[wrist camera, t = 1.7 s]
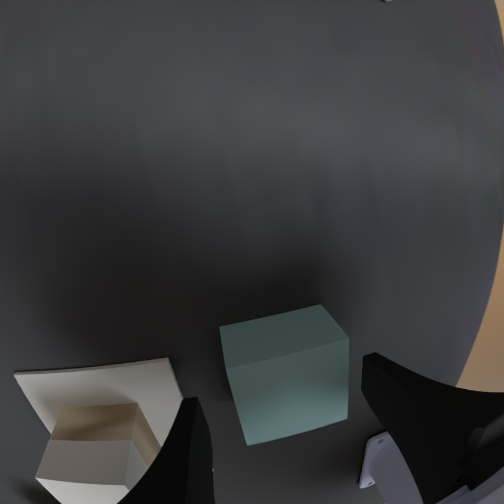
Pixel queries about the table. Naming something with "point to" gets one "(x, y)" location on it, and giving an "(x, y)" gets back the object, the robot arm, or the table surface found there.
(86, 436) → the beech slab
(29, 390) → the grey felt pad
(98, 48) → the table surface
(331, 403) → the teal block
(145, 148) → the table surface
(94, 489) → the light grey block
